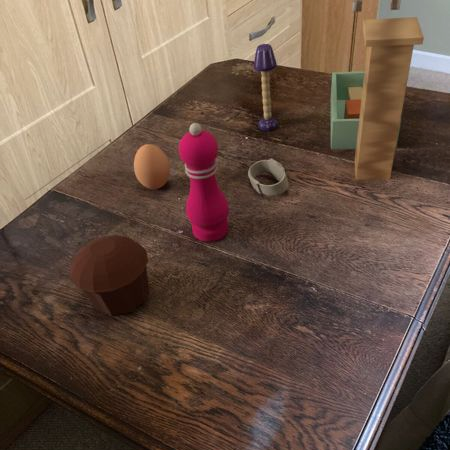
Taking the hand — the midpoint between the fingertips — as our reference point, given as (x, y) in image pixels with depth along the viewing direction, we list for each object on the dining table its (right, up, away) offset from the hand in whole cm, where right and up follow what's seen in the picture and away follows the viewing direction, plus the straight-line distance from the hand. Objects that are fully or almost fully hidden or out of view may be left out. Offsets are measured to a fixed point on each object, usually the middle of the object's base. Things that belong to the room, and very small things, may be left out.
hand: (375, 10), depth 87 cm
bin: (+3, -13, +19) cm, 23 cm away
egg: (-40, -29, +10) cm, 50 cm away
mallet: (+2, -11, +20) cm, 23 cm away
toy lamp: (-17, -13, +22) cm, 31 cm away
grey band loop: (-18, -30, +7) cm, 36 cm away
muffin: (-43, -50, -9) cm, 67 cm away
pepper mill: (-29, -39, 0) cm, 49 cm away
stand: (+1, -28, +6) cm, 29 cm away
